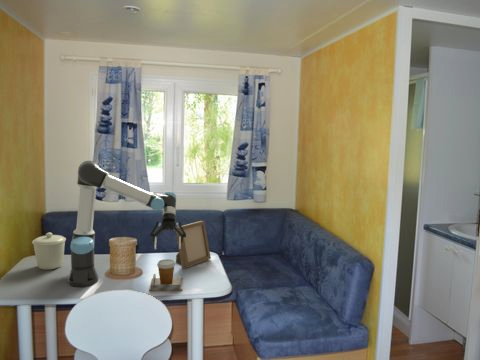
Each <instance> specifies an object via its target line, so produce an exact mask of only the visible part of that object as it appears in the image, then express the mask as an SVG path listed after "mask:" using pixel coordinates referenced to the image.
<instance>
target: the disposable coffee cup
mask: <svg viewBox="0 0 480 360" xmlns="http://www.w3.org/2000/svg"><path fill="white" fill-rule="evenodd" d="M156 266H157V267H158V274H159V275H158V276H159V277H158V278H160V284H172V281H173V278H174V274H175V273H174V272H175V266H176V261H175V260H173V259H168V258H167V259H161V260H159V261H158V262H157V265H156Z"/></svg>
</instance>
